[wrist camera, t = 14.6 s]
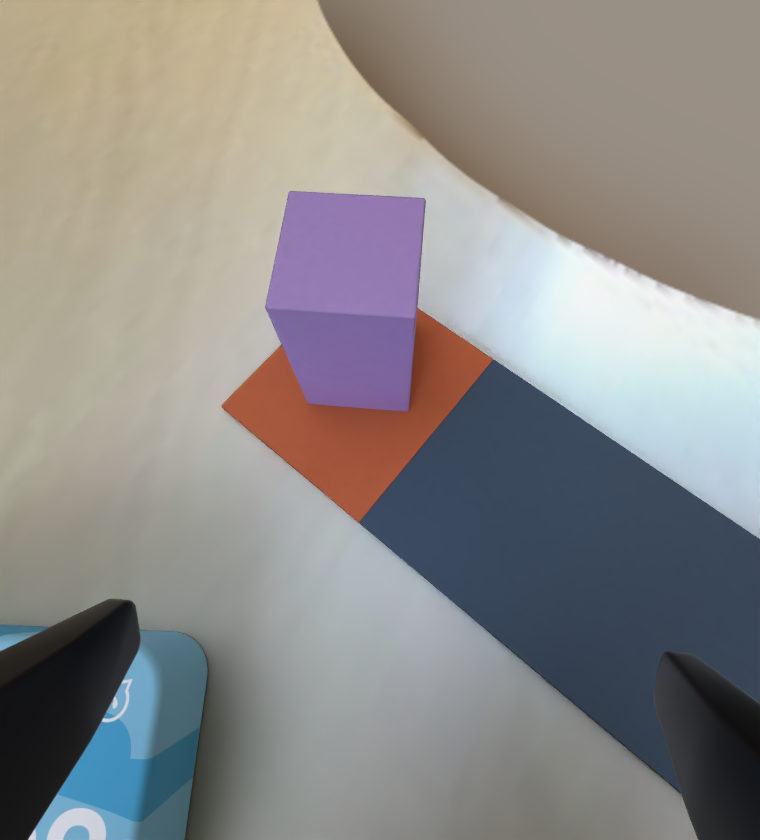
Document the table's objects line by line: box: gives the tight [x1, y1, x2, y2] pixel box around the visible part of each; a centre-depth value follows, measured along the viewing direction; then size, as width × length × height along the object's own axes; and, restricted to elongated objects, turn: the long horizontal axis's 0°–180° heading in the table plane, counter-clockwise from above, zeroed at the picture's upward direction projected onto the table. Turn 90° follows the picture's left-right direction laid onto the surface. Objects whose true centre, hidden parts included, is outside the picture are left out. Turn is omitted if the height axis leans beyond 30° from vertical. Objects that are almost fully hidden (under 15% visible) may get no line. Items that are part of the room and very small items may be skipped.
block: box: [265, 191, 426, 412], centre depth 21 cm, size 5×5×8 cm
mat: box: [221, 308, 760, 794], centre depth 22 cm, size 26×10×1 cm, turn 51°
